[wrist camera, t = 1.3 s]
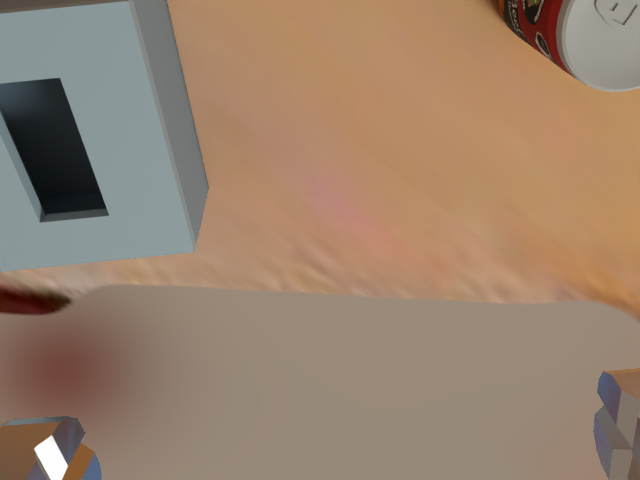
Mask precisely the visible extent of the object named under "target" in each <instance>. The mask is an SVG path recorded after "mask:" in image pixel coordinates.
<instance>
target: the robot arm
mask: <svg viewBox="0 0 640 480" xmlns="http://www.w3.org/2000/svg"><path fill="white" fill-rule="evenodd" d="M597 393H598V394H599V396H600V398H601V400H602V402H603V403H604V406H603V407H602V408H601V409H600V410H599V411H598V412H597V413H596V414H595V416H594V431H593V432H594V438H595V444H596V450H597V453H598V456H599V459H600V462H601V465H602V467H603V469H604V471H605V473H606V475H607V477H608V479H609V480H640V368H636V369H626V370H614V371H603V372H602V374H601V376H600V378H599V381H598V389H597ZM84 435H85V431H84V429H83V427H82V425H81V424H80V422H79V420H78V418H74V417H70V416H65V417H46V418H30V419H13V420H9V421H8V420H7V421H0V480H102V474H101V468H100V462H99V460H98V458H97V456H96V454H95V452H94V451H92V450H91V449H89V448H88V447H86V446H85V445H83V444H82V440H83V438H84Z"/></svg>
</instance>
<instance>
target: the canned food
mask: <svg viewBox="0 0 640 480" xmlns="http://www.w3.org/2000/svg"><path fill="white" fill-rule="evenodd" d="M498 1H499V8H500V11H501V14H502V17H503V19H504V21H505V23H506V24H507V26H508V27H509V28H510V29H511V30H512V31H513V32H514V33H515V34H516V35H517V36H518V37H520V38H521V39H522V40H524V41H525V42H526V43H528V44H529V45H530V46H532V47H533V48H534V49H536V50H537V51H538V52H540V53H541V54H543V55H544V56H545V57H547V58H548V59H549V60H551V61H552V62H553V63H555V64H556V65H557V66H559V67H560V68H561V69H563V70H564V71H565V72H567V73H568V74H570V75H571V76H573V77H574V78H576V79H577V80H579V81H580V82H582V83H584V84H585V85H588V86H590V87H593V88H596V89H599V90H602V91H611V92H620V91H630V90H633V89H637V88H640V0H498Z"/></svg>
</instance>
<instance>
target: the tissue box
mask: <svg viewBox="0 0 640 480" xmlns="http://www.w3.org/2000/svg"><path fill="white" fill-rule="evenodd" d="M208 189H209V186H208V182H207V177H206V173H205V169H204V164H203V160H202V155H201V151H200V146H199V142H198V138H197V133H196V129H195V124H194V120H193V116H192V111H191V107H190V102H189V98H188V93H187V89H186V85H185V80H184V76H183V71H182V67H181V63H180V58H179V54H178V49H177V45H176V40H175V36H174V32H173V27H172V23H171V18H170V14H169V10H168V5H167V1H166V0H0V272H2V271H12V270H22V269H32V268H41V267H51V266H61V265H71V264H81V263H91V262H101V261H111V260H121V259H131V258H141V257H151V256H161V255H171V254H181V253H191V252H195V247H196V243H197V238H198V234H199V229H200V225H201V220H202V216H203V211H204V207H205V202H206V198H207V193H208Z"/></svg>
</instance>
